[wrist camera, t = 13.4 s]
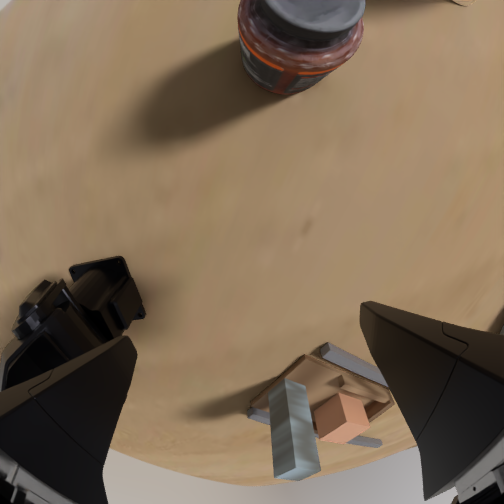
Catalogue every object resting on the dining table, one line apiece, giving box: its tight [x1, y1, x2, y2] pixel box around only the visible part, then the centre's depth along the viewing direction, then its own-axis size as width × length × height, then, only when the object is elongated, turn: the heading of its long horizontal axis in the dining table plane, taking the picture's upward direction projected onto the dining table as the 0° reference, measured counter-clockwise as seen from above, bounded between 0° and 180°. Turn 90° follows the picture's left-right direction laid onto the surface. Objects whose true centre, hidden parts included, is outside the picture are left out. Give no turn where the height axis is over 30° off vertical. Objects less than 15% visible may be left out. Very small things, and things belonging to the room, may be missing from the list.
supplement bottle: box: [238, 0, 365, 94], centre depth 12 cm, size 6×6×11 cm
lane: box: [247, 342, 388, 448], centre depth 32 cm, size 28×14×1 cm, turn 55°
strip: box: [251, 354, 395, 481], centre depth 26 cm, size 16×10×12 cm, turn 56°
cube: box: [314, 393, 370, 444], centre depth 29 cm, size 4×4×4 cm
